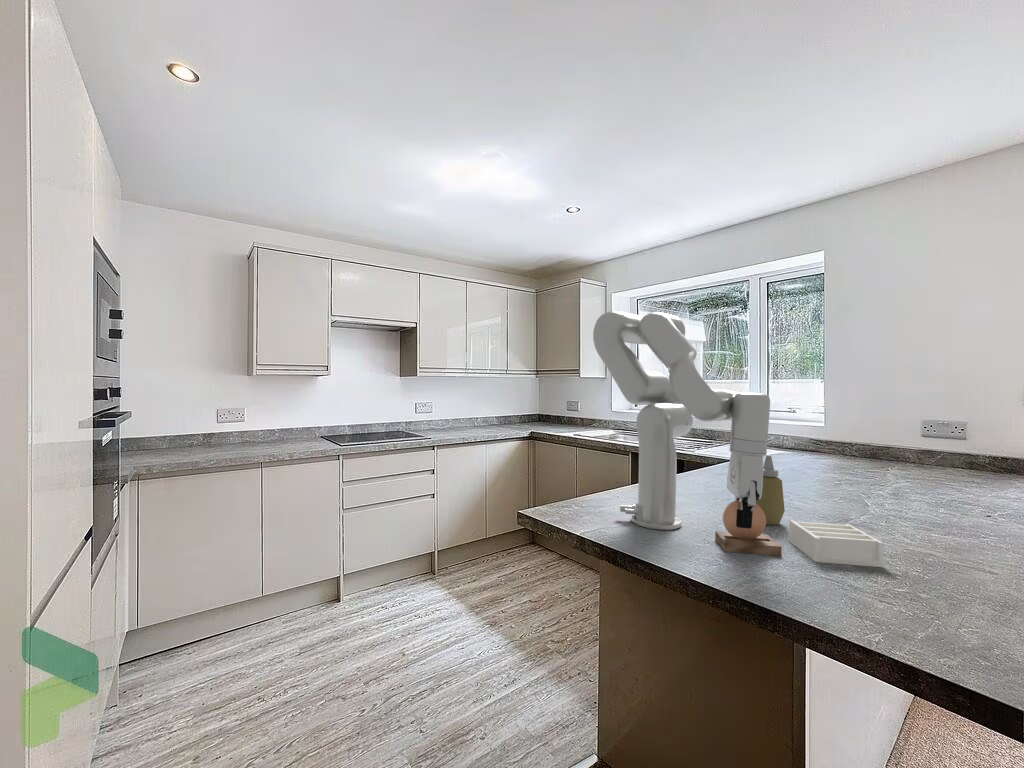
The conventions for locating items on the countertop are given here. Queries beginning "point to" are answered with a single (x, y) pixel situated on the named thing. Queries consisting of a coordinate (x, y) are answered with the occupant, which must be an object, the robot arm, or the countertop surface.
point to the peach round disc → (744, 533)
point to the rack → (836, 544)
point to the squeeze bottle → (771, 494)
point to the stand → (748, 544)
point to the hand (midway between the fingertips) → (742, 525)
